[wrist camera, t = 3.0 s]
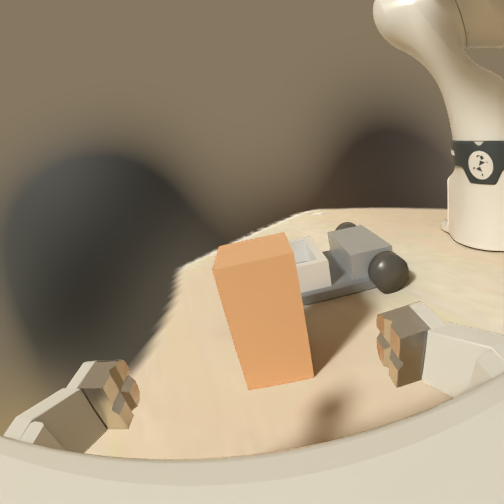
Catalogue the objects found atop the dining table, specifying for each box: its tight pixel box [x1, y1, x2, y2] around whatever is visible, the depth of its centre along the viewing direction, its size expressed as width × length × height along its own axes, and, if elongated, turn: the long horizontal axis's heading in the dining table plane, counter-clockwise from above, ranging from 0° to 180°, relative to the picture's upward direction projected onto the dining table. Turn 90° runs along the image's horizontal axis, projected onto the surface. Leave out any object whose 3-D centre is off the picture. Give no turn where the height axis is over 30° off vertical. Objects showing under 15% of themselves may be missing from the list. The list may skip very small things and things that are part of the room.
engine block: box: [212, 232, 314, 390], centre depth 23 cm, size 5×5×10 cm
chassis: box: [288, 222, 409, 305], centre depth 37 cm, size 20×16×4 cm
